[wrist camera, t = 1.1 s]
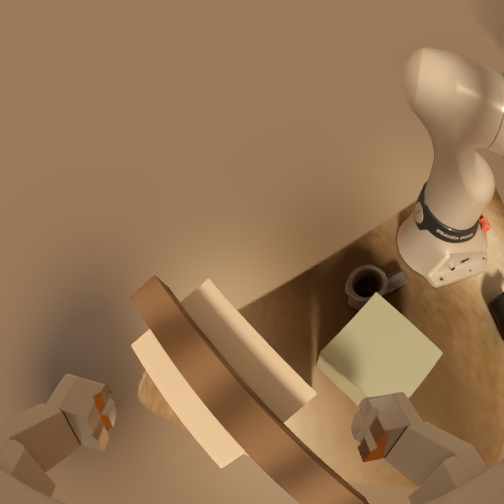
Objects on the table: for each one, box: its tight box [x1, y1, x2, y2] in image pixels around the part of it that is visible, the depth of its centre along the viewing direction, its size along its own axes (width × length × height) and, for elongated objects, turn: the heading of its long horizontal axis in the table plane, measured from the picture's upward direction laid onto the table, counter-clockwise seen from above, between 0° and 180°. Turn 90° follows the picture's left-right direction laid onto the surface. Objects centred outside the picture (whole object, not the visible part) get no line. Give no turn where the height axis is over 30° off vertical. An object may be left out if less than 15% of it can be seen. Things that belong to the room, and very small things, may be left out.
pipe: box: [345, 265, 408, 310], centre depth 45 cm, size 6×13×8 cm, turn 108°
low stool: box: [316, 292, 443, 406], centre depth 35 cm, size 12×10×16 cm
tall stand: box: [131, 279, 317, 468], centre depth 33 cm, size 14×10×26 cm
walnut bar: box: [131, 275, 369, 504], centre depth 19 cm, size 26×3×3 cm, turn 41°
